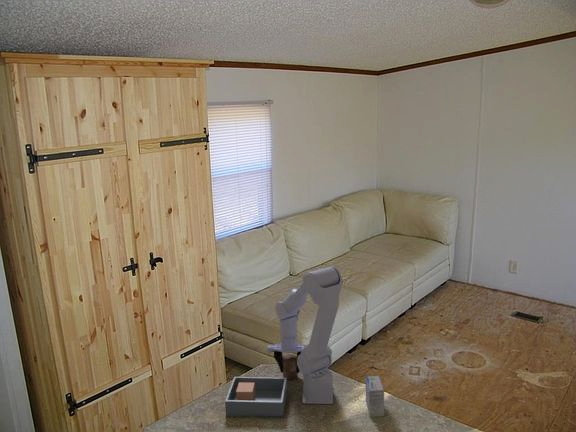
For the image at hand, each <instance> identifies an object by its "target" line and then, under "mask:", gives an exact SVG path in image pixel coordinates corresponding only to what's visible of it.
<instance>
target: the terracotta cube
mask: <svg viewBox="0 0 576 432" xmlns="http://www.w3.org/2000/svg"><path fill="white" fill-rule="evenodd" d="M236 398H237V400H247V401H255V383H243V382H239V384H238V387H237V390H236Z"/></svg>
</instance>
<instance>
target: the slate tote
mask: <svg viewBox="0 0 576 432" xmlns="http://www.w3.org/2000/svg"><path fill="white" fill-rule="evenodd" d="M239 382H243V383H255V401H247V400H237V398H236V390H237V387H238V384H239ZM287 397H288V380H287V378H283V377H273V376H272V377H271V376H270V377H269V376H265V377H264V376H263V377H262V376H258V377H257V376H234V377H233V379H232V381H231V384H230V387H229V390H228V392H227V395H226V397H225V399H224V400H225V401H224V406H225V407H224V408H225V417H244V418H245V417H246V418H248V417H249V418H282V419H283V418H284V414H285V408H286V403H287Z"/></svg>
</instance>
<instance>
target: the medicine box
mask: <svg viewBox="0 0 576 432" xmlns="http://www.w3.org/2000/svg"><path fill="white" fill-rule="evenodd" d="M365 403H366V407H367V411H368V414H369V417H370V418H373V417H374V418H375V417H377V418H379V417H385V389H384V386H383V382H382V380H381V377H380V376H378V375H375V376H374V375H371V376H370V375H369V376H365Z"/></svg>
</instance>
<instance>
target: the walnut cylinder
mask: <svg viewBox="0 0 576 432" xmlns="http://www.w3.org/2000/svg"><path fill="white" fill-rule="evenodd" d="M282 364H283V373H282V378H287V381H294V380H296V379H297V378H298V374H299V373H297V354H293V353H285V354H284V355H282Z"/></svg>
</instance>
